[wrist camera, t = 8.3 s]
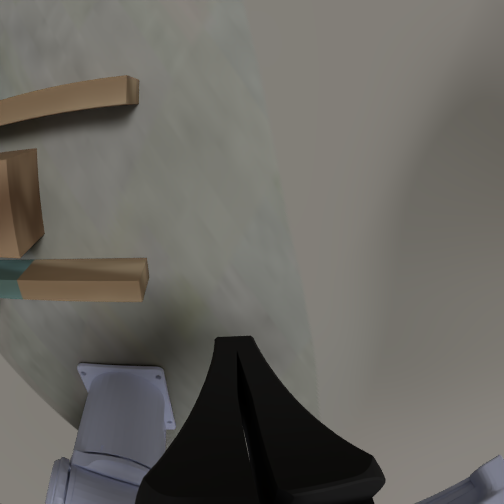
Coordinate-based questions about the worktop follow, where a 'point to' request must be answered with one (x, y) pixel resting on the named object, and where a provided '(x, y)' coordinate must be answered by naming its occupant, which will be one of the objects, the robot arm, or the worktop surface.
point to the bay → (73, 270)
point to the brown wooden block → (19, 203)
